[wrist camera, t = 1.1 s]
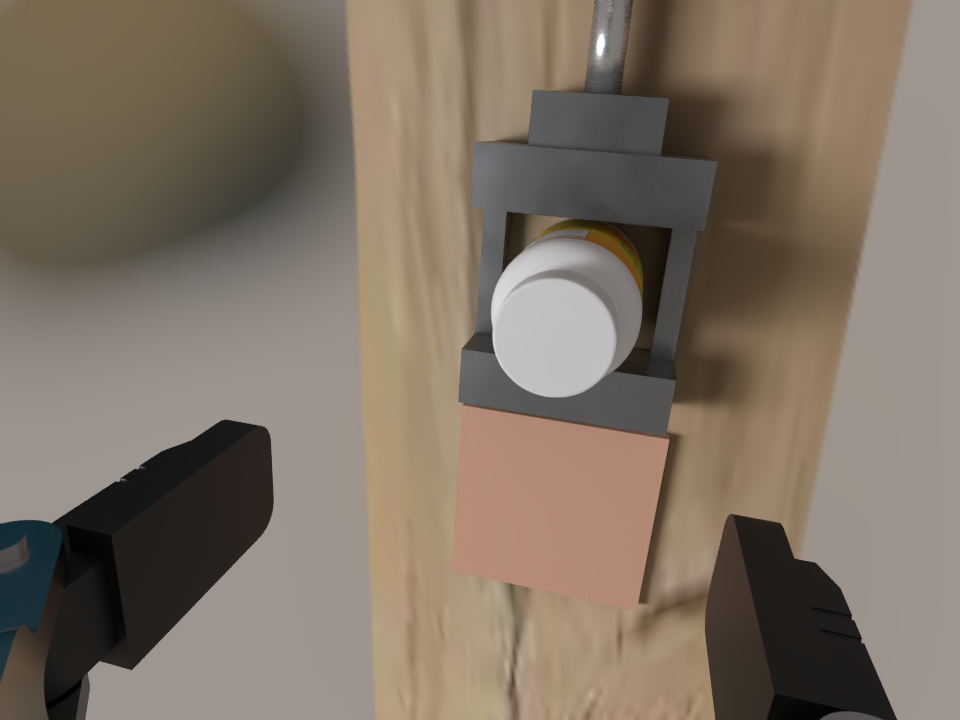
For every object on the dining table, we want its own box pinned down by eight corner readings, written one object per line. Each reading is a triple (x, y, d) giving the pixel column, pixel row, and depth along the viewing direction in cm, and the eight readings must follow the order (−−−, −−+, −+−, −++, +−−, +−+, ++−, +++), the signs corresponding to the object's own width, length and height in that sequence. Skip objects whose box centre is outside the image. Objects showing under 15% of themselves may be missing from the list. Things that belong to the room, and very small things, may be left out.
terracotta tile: (465, 400, 32) (462, 405, 32) (669, 434, 30) (669, 439, 30) (454, 563, 36) (451, 570, 35) (636, 603, 34) (636, 611, 33)
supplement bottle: (653, 322, 29) (656, 406, 20) (538, 343, 31) (493, 429, 22) (630, 202, 27) (623, 236, 19) (510, 231, 29) (451, 275, 20)
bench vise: (506, -31, 26) (486, -54, 22) (742, -25, 24) (757, -49, 21) (477, 374, 32) (458, 401, 29) (663, 403, 30) (665, 436, 27)
